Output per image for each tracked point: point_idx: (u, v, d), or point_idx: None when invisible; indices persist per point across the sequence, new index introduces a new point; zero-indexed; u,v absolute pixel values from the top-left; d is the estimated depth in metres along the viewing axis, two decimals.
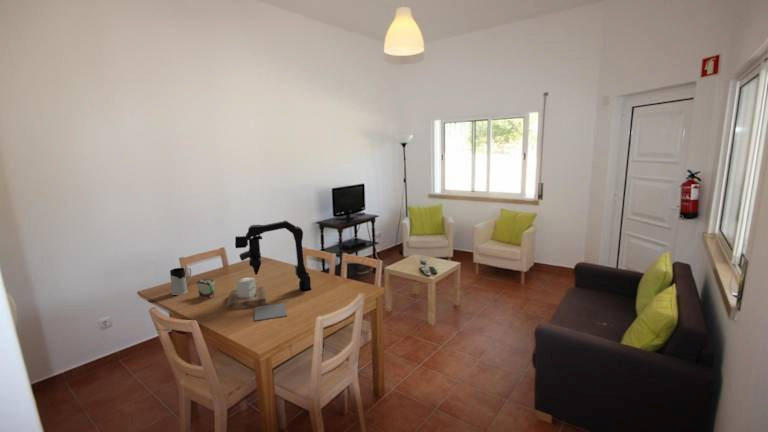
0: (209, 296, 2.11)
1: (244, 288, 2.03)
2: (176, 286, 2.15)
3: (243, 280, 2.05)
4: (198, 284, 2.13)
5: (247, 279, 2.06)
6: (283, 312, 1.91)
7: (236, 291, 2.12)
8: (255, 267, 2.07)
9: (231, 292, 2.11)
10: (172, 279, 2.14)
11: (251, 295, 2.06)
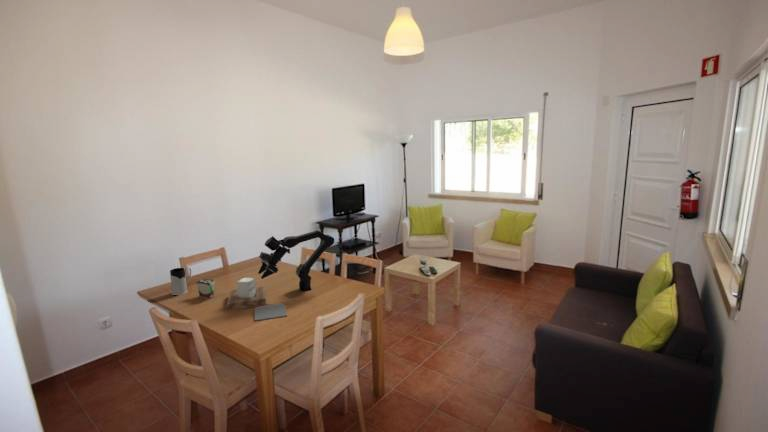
0: (209, 296, 2.11)
1: (244, 288, 2.03)
2: (176, 286, 2.15)
3: (243, 280, 2.05)
4: (198, 284, 2.13)
5: (247, 279, 2.06)
6: (283, 312, 1.91)
7: (236, 291, 2.12)
8: (267, 272, 2.06)
9: (231, 292, 2.11)
10: (172, 279, 2.14)
11: (251, 295, 2.06)
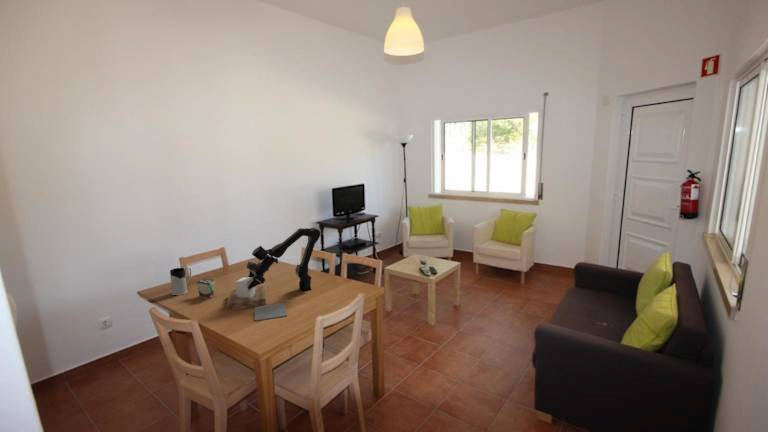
0: (209, 296, 2.11)
1: (243, 288, 2.03)
2: (176, 286, 2.15)
3: (242, 280, 2.05)
4: (198, 284, 2.13)
5: (246, 279, 2.06)
6: (283, 312, 1.91)
7: (236, 291, 2.12)
8: (254, 282, 2.03)
9: (231, 292, 2.11)
10: (172, 279, 2.14)
11: (250, 294, 2.05)
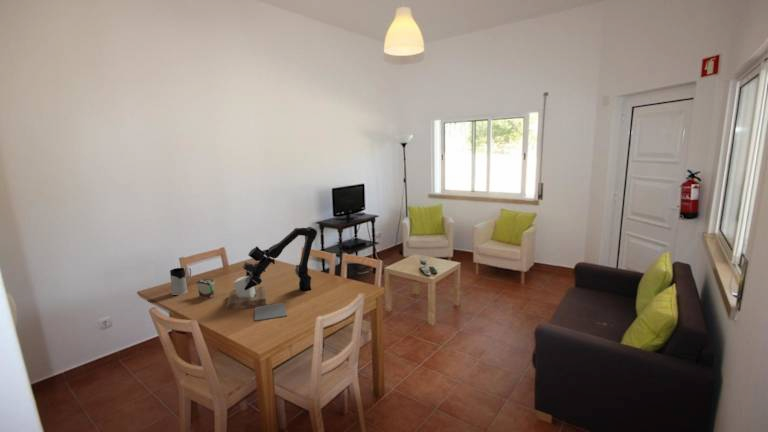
0: (209, 296, 2.11)
1: (242, 287, 2.03)
2: (176, 286, 2.15)
3: (239, 280, 2.04)
4: (198, 284, 2.13)
5: (243, 278, 2.06)
6: (283, 312, 1.91)
7: None
8: (250, 283, 2.02)
9: (231, 292, 2.11)
10: (172, 279, 2.14)
11: (251, 292, 2.06)
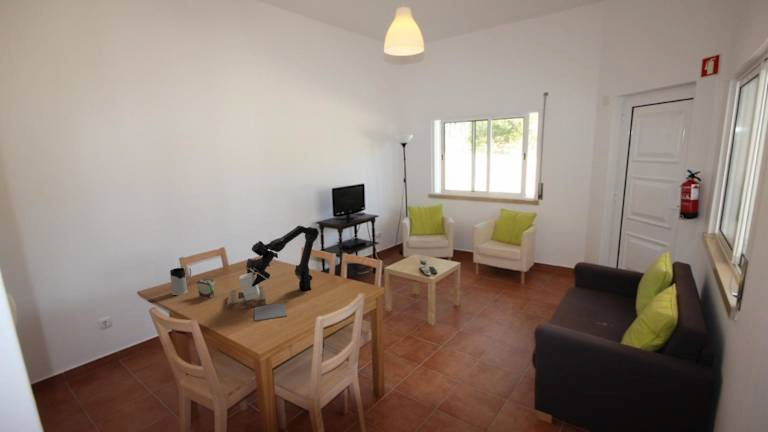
0: (209, 296, 2.11)
1: (249, 284, 1.94)
2: (176, 286, 2.15)
3: (244, 277, 1.95)
4: (198, 284, 2.13)
5: (247, 275, 1.97)
6: (283, 312, 1.91)
7: (236, 291, 2.12)
8: (258, 279, 1.95)
9: (231, 292, 2.11)
10: (172, 279, 2.14)
11: (257, 289, 1.98)
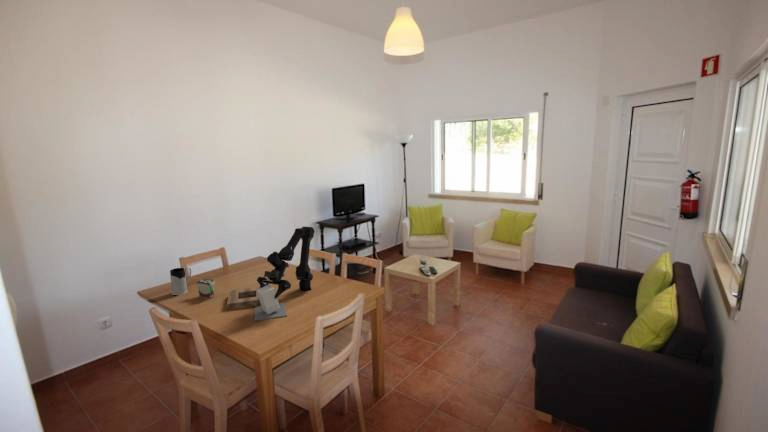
0: (209, 296, 2.11)
1: (271, 296, 1.88)
2: (176, 286, 2.15)
3: (264, 290, 1.87)
4: (198, 284, 2.13)
5: (265, 288, 1.89)
6: (283, 312, 1.91)
7: (236, 291, 2.12)
8: (280, 290, 1.90)
9: (231, 292, 2.11)
10: (172, 279, 2.14)
11: None
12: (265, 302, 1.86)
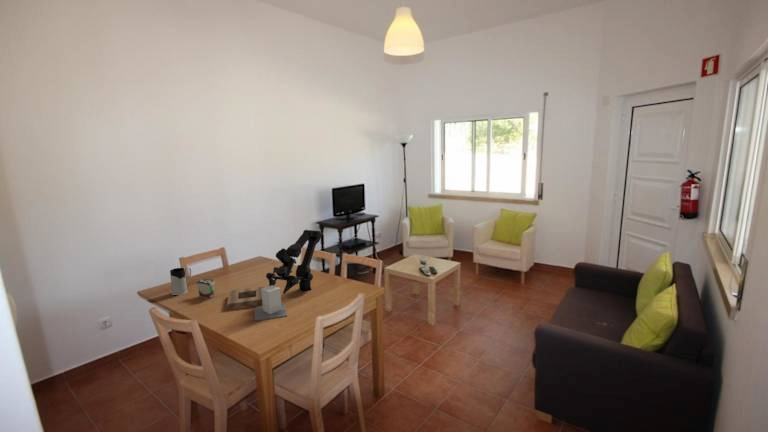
0: (209, 296, 2.11)
1: (276, 296, 1.90)
2: (176, 286, 2.15)
3: (270, 289, 1.90)
4: (198, 284, 2.13)
5: (271, 287, 1.92)
6: (283, 312, 1.91)
7: (236, 291, 2.12)
8: (288, 285, 1.97)
9: (231, 292, 2.11)
10: (172, 279, 2.14)
11: None
12: (270, 300, 1.88)
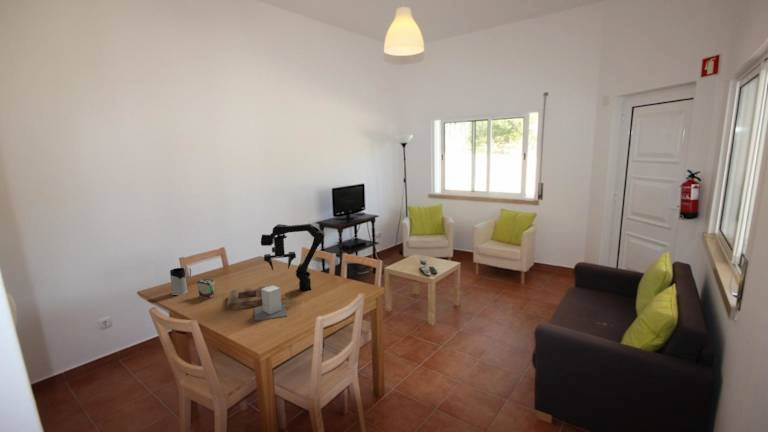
0: (209, 296, 2.11)
1: (276, 296, 1.90)
2: (176, 286, 2.15)
3: (270, 289, 1.90)
4: (198, 284, 2.13)
5: (271, 287, 1.92)
6: (283, 312, 1.91)
7: (236, 291, 2.12)
8: None
9: (231, 292, 2.11)
10: (172, 279, 2.14)
11: None
12: (270, 300, 1.88)
